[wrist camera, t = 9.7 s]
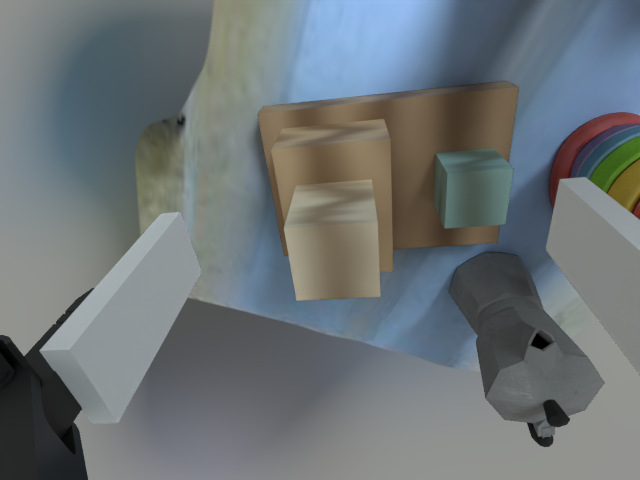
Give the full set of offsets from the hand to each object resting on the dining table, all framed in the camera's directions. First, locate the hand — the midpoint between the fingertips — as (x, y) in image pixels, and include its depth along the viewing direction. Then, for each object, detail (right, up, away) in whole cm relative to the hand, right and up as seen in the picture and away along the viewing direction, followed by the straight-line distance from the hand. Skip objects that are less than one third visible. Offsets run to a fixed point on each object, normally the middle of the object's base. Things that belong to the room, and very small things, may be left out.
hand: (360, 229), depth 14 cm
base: (+5, +7, +25) cm, 27 cm away
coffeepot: (+19, -6, +32) cm, 38 cm away
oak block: (0, +2, +18) cm, 18 cm away
